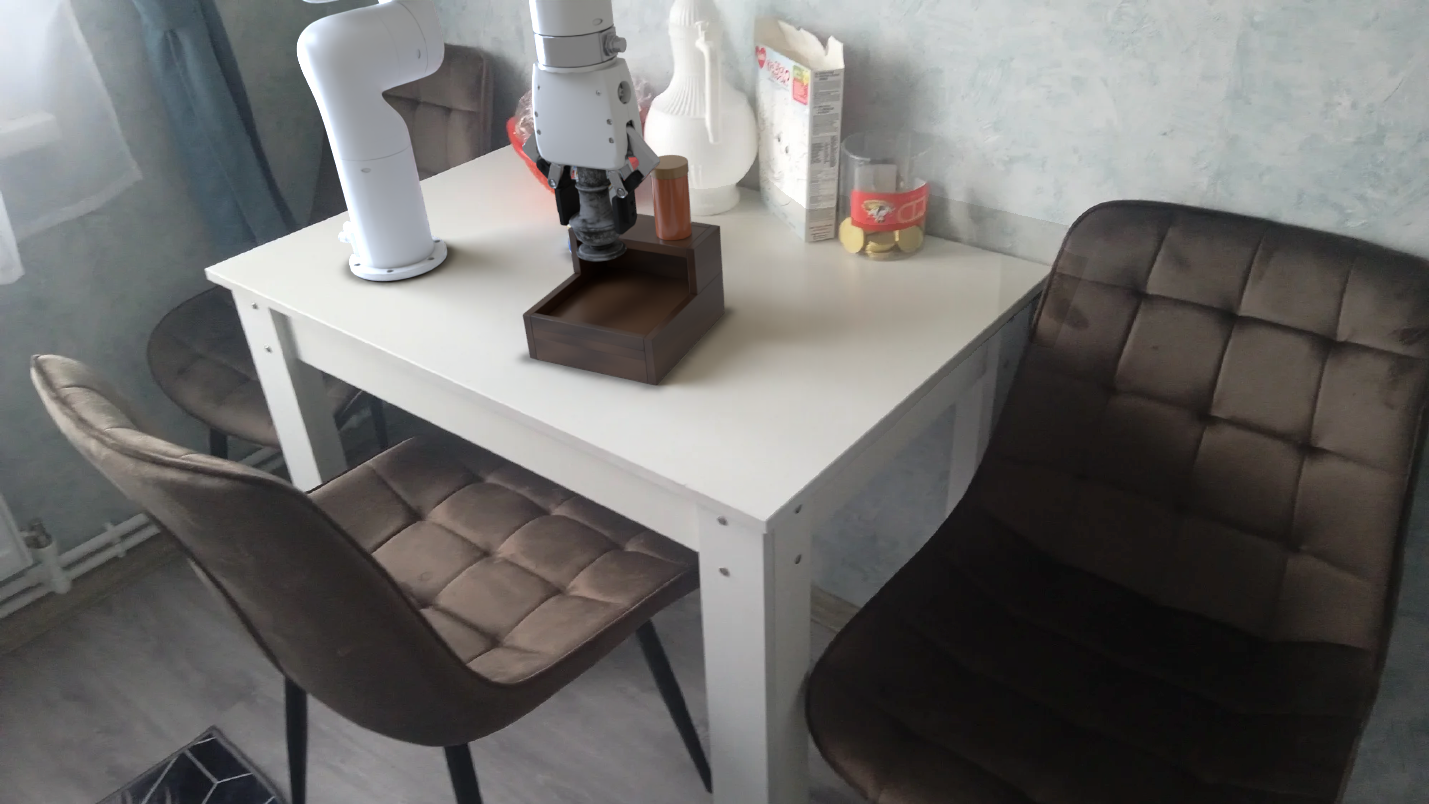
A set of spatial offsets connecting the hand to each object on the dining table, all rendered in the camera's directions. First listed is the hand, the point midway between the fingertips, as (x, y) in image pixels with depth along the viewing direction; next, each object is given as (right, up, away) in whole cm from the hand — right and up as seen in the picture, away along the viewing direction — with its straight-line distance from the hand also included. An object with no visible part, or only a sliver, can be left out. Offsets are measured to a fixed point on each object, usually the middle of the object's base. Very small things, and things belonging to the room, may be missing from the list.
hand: (598, 223), depth 107 cm
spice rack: (+3, -10, +11) cm, 16 cm away
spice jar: (+8, 0, +7) cm, 10 cm away
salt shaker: (0, -3, +2) cm, 3 cm away
